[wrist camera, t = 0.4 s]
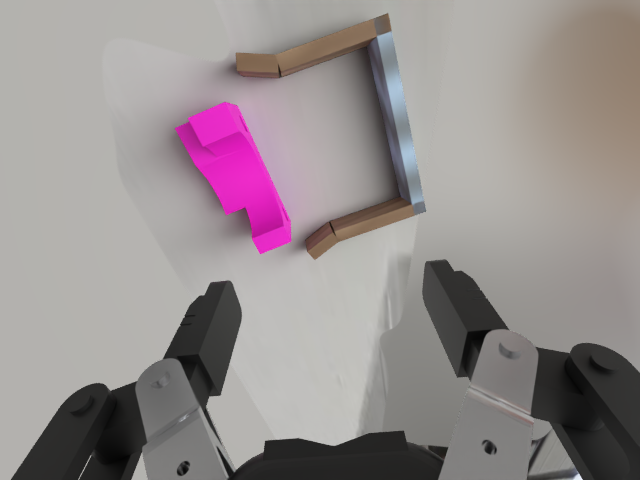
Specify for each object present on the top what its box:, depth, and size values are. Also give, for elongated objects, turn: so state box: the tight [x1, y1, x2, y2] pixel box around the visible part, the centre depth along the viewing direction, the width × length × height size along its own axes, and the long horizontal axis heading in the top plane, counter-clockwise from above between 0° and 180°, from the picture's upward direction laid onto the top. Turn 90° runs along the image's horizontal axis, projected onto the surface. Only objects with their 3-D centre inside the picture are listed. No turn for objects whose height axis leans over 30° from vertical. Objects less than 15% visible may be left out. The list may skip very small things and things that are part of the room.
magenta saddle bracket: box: [175, 102, 291, 254], centre depth 33 cm, size 15×6×8 cm, turn 21°
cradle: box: [236, 13, 426, 260], centre depth 34 cm, size 24×16×4 cm, turn 18°
